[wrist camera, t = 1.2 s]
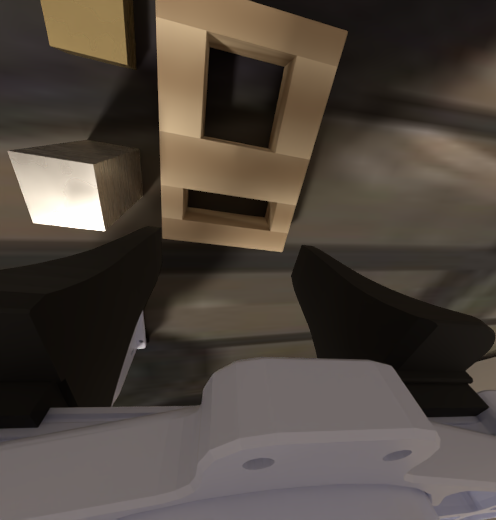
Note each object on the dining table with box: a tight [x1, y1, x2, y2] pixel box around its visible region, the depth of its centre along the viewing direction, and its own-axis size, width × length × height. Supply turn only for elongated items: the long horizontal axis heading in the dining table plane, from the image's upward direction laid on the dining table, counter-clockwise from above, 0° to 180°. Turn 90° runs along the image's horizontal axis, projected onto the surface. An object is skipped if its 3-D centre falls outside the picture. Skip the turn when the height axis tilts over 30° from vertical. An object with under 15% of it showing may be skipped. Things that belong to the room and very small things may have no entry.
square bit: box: [8, 140, 143, 231], centre depth 14 cm, size 4×4×7 cm
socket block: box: [156, 0, 348, 252], centre depth 16 cm, size 14×10×3 cm
